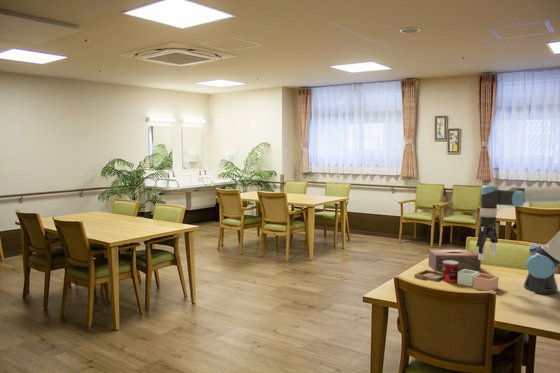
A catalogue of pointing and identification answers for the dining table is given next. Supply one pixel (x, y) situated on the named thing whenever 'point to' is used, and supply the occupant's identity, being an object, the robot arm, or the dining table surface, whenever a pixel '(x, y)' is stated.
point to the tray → (429, 275)
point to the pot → (485, 282)
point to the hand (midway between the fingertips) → (486, 257)
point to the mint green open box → (466, 277)
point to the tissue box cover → (454, 259)
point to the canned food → (450, 271)
